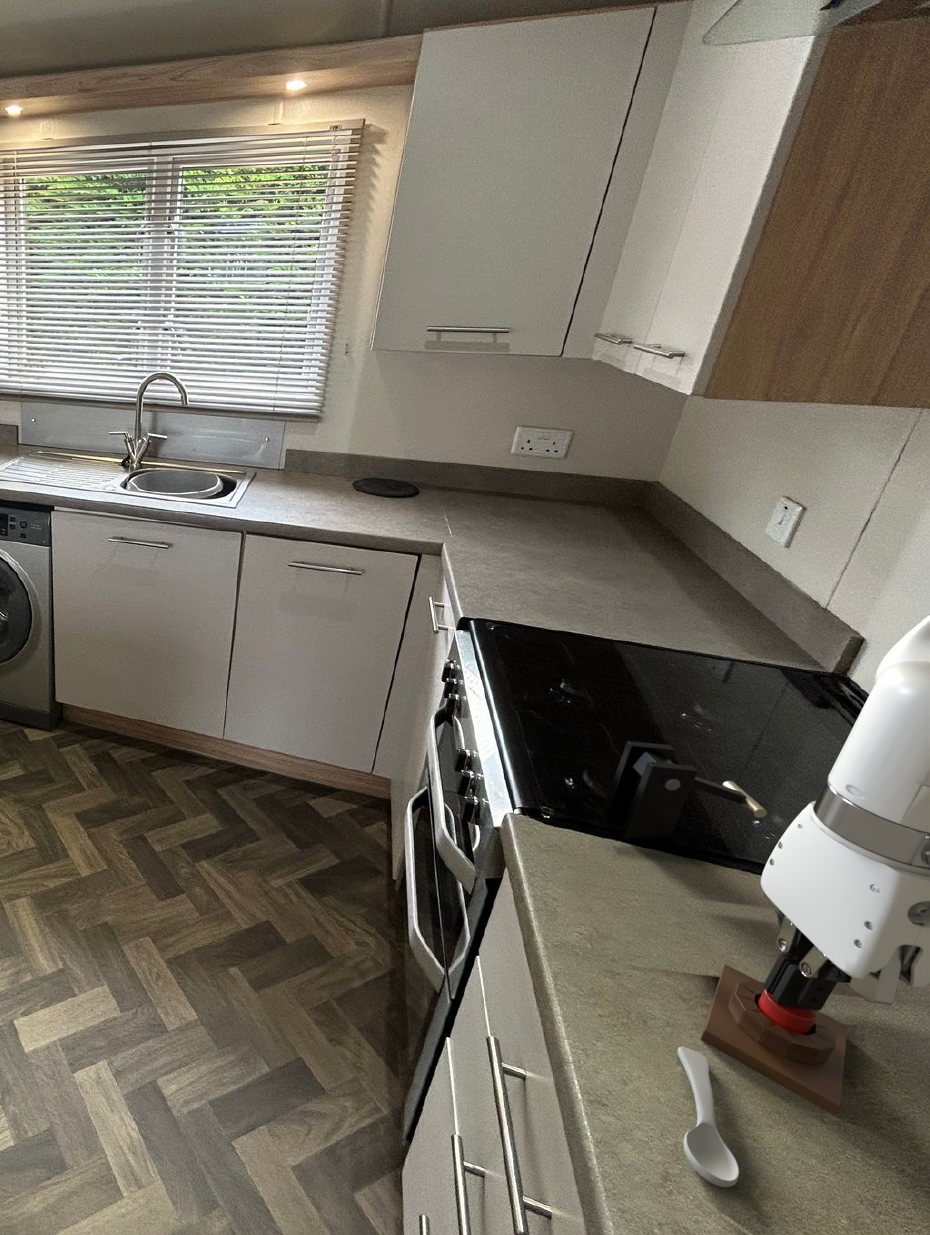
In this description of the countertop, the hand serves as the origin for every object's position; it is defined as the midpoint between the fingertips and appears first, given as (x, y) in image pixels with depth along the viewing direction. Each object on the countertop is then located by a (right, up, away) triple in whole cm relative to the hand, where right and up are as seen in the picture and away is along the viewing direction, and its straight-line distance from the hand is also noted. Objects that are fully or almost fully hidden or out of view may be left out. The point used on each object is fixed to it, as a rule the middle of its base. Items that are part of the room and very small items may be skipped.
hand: (790, 999), depth 58 cm
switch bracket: (+6, +4, +24) cm, 26 cm away
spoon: (-12, -7, -4) cm, 14 cm away
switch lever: (+11, +11, +21) cm, 26 cm away
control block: (0, -4, +2) cm, 5 cm away
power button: (0, -2, +1) cm, 2 cm away
